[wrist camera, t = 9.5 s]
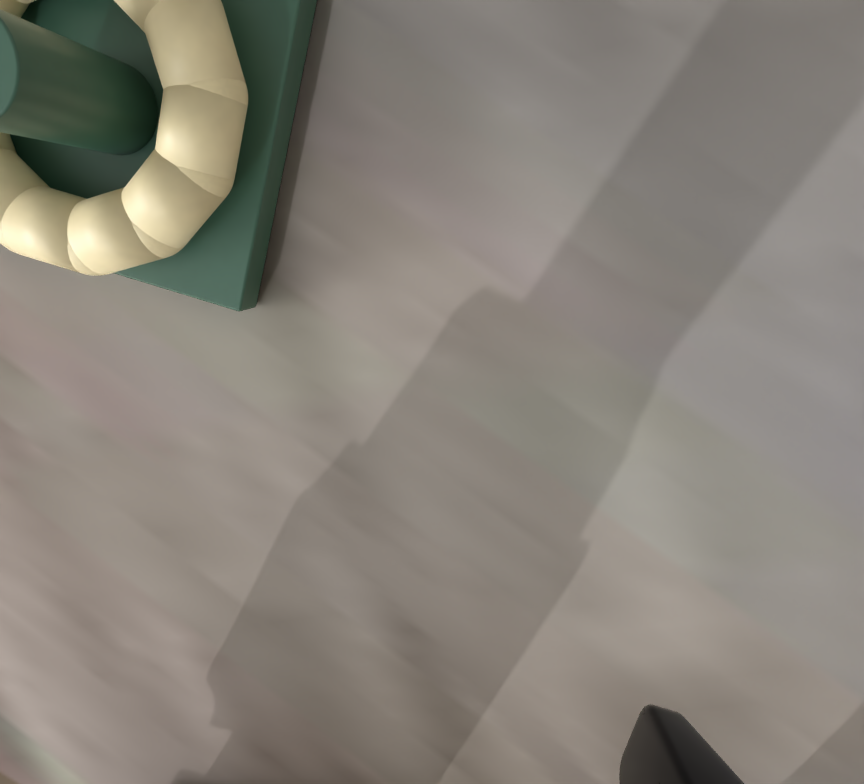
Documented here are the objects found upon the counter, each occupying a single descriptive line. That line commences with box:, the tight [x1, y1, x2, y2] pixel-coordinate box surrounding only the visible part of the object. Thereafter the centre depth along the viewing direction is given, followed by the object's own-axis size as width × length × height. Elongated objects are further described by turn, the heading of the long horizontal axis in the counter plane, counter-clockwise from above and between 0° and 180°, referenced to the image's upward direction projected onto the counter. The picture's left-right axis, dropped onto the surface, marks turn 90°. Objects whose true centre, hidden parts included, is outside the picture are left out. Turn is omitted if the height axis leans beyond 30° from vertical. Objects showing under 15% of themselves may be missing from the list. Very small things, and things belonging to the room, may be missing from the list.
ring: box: [0, 0, 248, 276], centre depth 16 cm, size 9×9×2 cm
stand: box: [0, 0, 317, 311], centre depth 15 cm, size 9×9×6 cm
